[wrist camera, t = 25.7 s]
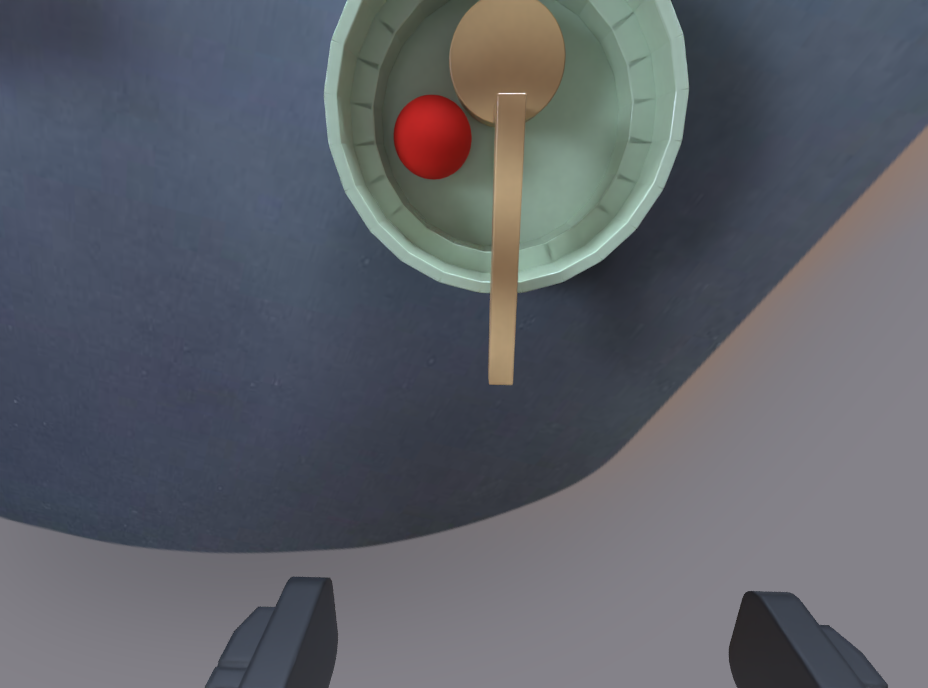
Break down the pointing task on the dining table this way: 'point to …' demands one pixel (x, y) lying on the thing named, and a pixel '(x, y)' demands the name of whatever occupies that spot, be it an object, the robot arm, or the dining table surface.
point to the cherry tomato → (432, 137)
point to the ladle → (506, 131)
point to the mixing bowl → (545, 147)
